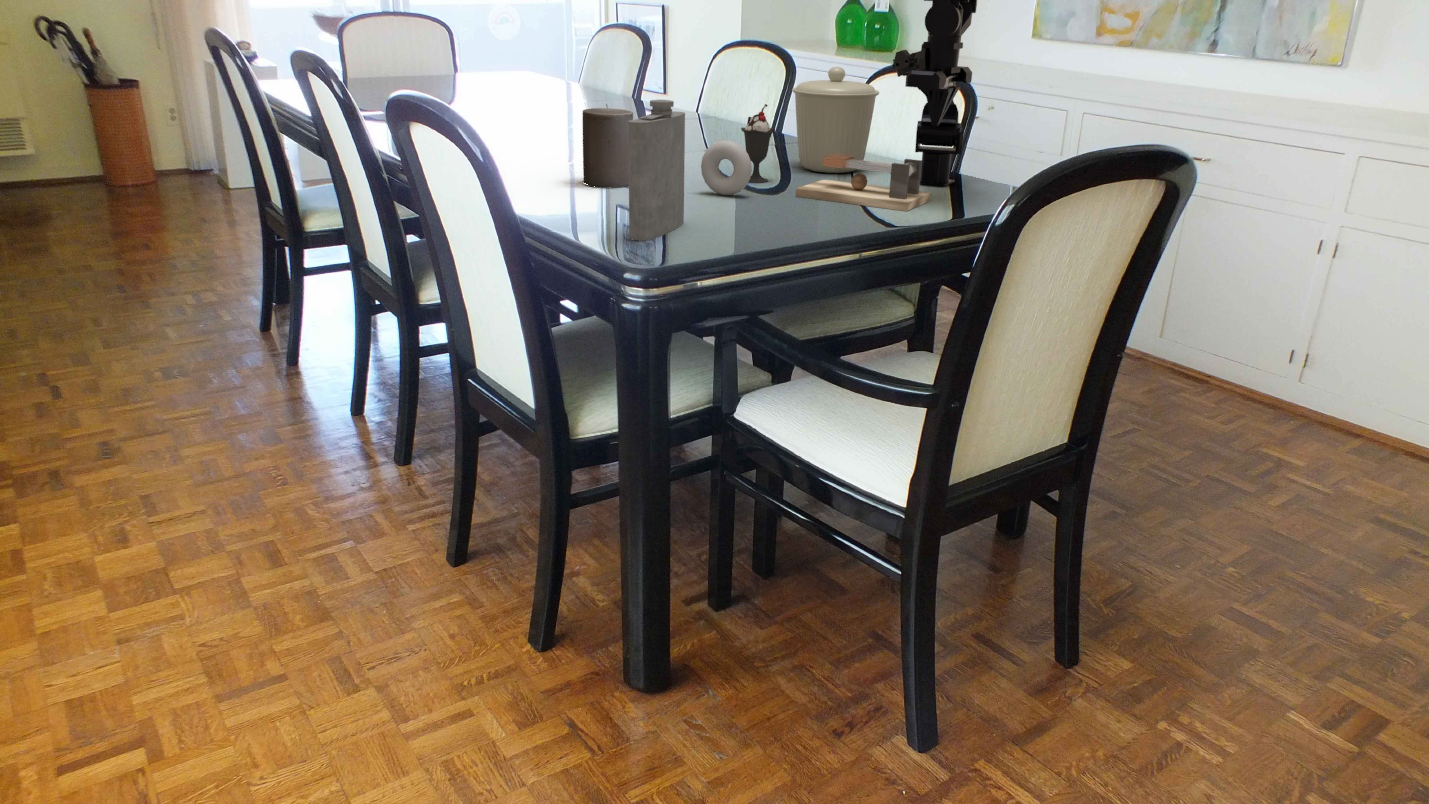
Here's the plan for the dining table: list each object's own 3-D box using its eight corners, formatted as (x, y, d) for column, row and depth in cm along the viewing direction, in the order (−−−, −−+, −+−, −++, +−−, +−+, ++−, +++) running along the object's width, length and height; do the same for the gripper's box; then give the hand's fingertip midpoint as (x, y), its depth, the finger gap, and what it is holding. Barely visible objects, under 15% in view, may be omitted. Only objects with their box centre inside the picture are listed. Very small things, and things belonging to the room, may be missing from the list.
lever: (833, 165, 196) (834, 152, 195) (917, 176, 188) (918, 162, 187) (822, 168, 192) (823, 155, 191) (906, 179, 184) (908, 166, 183)
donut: (753, 196, 192) (755, 141, 188) (746, 199, 189) (748, 143, 185) (705, 191, 196) (706, 137, 192) (697, 194, 193) (698, 139, 189)
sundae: (770, 184, 204) (773, 105, 198) (736, 182, 205) (739, 104, 199) (775, 178, 210) (778, 102, 204) (742, 177, 211) (745, 100, 205)
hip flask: (669, 220, 171) (670, 94, 164) (691, 222, 170) (693, 96, 162) (625, 239, 158) (624, 103, 150) (649, 242, 156) (649, 105, 149)
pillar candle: (573, 185, 198) (572, 104, 192) (597, 177, 207) (597, 99, 201) (619, 190, 195) (619, 108, 189) (641, 182, 203) (642, 103, 198)
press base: (823, 187, 202) (825, 148, 200) (930, 200, 192) (934, 159, 189) (795, 196, 193) (797, 155, 190) (906, 211, 182) (910, 168, 180)
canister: (773, 165, 226) (777, 63, 218) (844, 161, 233) (851, 63, 225) (815, 179, 211) (821, 70, 203) (889, 174, 218) (898, 69, 210)
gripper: (920, 33, 197) (912, 117, 202) (881, 35, 182) (874, 126, 188) (977, 35, 191) (967, 122, 197) (942, 38, 176) (933, 132, 182)
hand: (935, 125), depth 191 cm, fingers closed
